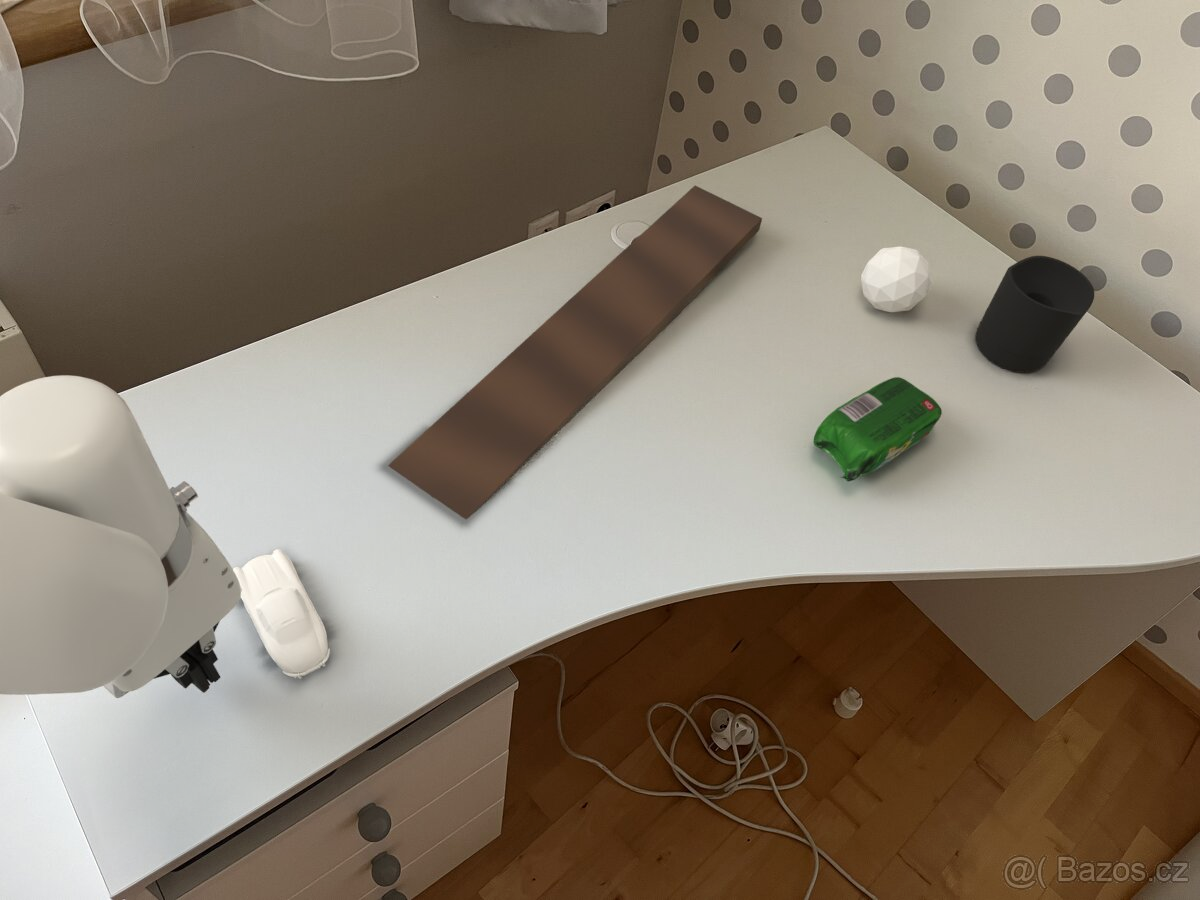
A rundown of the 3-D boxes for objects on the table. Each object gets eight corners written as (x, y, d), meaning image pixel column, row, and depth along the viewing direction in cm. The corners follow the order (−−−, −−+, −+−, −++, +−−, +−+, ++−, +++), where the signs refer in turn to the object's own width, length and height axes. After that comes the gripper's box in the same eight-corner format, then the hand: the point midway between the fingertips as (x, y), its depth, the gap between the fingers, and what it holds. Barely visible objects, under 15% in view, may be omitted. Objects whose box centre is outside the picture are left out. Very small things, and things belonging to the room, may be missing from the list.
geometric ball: (878, 309, 112) (918, 253, 109) (914, 333, 105) (957, 275, 103) (836, 283, 108) (876, 225, 106) (871, 307, 102) (914, 246, 99)
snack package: (793, 453, 92) (807, 420, 88) (891, 392, 99) (908, 359, 95) (843, 500, 89) (860, 468, 85) (941, 434, 96) (961, 401, 92)
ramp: (465, 533, 84) (464, 500, 80) (387, 479, 88) (382, 444, 83) (753, 252, 116) (763, 217, 111) (688, 219, 119) (695, 184, 114)
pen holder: (1060, 380, 103) (1106, 316, 95) (980, 372, 102) (1020, 307, 95) (1038, 324, 109) (1080, 259, 101) (962, 316, 108) (999, 250, 101)
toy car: (285, 554, 79) (278, 532, 76) (342, 662, 73) (336, 643, 70) (230, 578, 77) (221, 557, 74) (285, 691, 71) (277, 673, 68)
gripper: (183, 442, 60) (243, 581, 74) (-34, 598, 51) (81, 720, 66) (261, 501, 57) (307, 632, 72) (48, 674, 49) (148, 783, 64)
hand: (199, 674), depth 69 cm, fingers closed
